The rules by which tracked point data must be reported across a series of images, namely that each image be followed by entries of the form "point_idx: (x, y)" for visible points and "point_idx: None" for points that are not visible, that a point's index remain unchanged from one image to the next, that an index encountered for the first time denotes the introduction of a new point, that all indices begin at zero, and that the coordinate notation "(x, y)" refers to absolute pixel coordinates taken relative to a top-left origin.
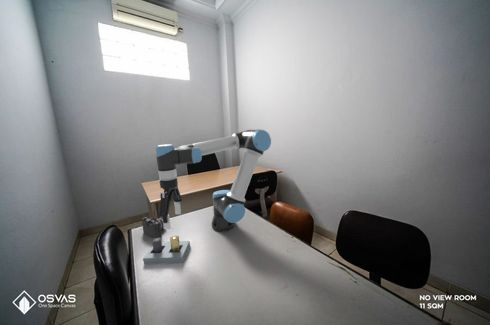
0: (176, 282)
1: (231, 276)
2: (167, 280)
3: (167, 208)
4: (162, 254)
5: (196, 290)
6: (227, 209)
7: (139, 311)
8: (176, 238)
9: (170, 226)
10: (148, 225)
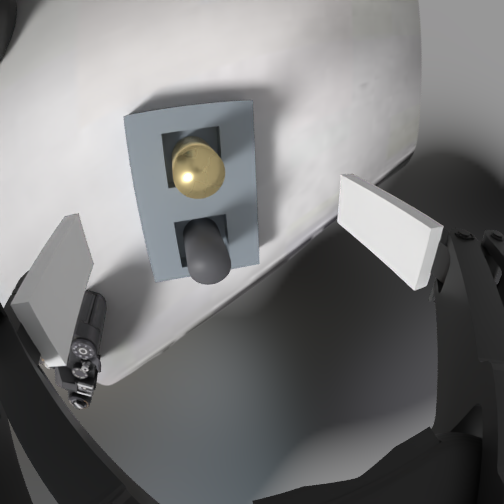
0: (335, 91)
1: None
2: (327, 124)
3: (490, 280)
4: (235, 200)
5: (360, 25)
6: None
7: (401, 159)
8: (203, 158)
9: (350, 178)
10: (96, 369)
